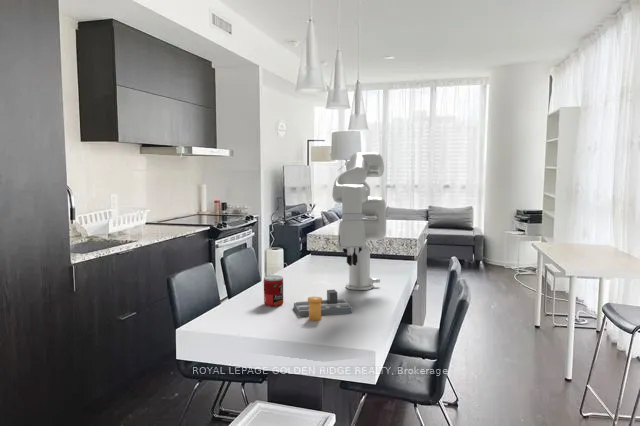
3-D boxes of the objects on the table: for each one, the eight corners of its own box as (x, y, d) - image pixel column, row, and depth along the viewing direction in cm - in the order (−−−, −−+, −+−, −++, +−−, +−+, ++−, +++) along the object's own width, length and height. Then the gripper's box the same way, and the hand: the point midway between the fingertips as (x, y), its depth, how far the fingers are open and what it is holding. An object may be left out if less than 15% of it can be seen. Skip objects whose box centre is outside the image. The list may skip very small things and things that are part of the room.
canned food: (275, 307, 182) (275, 280, 181) (260, 305, 186) (259, 278, 185) (287, 303, 188) (287, 276, 187) (271, 300, 193) (271, 274, 192)
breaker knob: (334, 302, 182) (334, 289, 181) (337, 305, 177) (337, 292, 177) (327, 302, 181) (327, 289, 180) (329, 305, 177) (329, 292, 176)
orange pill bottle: (320, 316, 171) (320, 296, 170) (323, 320, 166) (323, 299, 165) (306, 317, 170) (306, 297, 169) (309, 321, 164) (309, 300, 164)
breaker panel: (342, 304, 186) (342, 296, 186) (351, 312, 175) (351, 304, 175) (293, 307, 182) (293, 300, 182) (299, 316, 170) (299, 308, 170)
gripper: (368, 216, 184) (367, 262, 185) (330, 217, 180) (330, 264, 182) (374, 218, 176) (374, 265, 178) (335, 219, 173) (335, 267, 174)
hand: (352, 264), depth 180 cm, fingers closed
